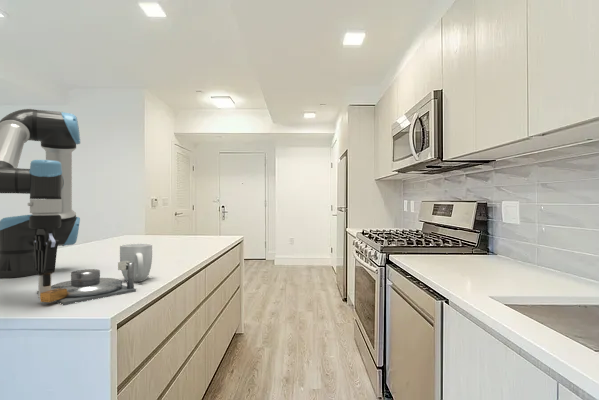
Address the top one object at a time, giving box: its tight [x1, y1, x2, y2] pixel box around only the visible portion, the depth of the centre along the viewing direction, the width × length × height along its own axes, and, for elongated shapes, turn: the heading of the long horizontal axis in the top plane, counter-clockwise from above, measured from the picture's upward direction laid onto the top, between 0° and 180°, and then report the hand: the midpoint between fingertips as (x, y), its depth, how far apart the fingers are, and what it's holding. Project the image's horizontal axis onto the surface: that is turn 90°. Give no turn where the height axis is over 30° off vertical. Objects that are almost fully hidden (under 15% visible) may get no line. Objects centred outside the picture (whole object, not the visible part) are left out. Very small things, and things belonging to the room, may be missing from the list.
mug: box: [119, 242, 153, 283], centre depth 136 cm, size 15×11×13 cm
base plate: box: [36, 284, 137, 306], centre depth 119 cm, size 21×21×1 cm
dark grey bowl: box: [70, 268, 101, 287], centre depth 120 cm, size 8×8×4 cm
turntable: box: [39, 277, 123, 303], centre depth 116 cm, size 20×26×2 cm
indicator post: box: [117, 261, 135, 289], centre depth 122 cm, size 5×5×9 cm
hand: (44, 297), depth 107 cm, fingers closed
